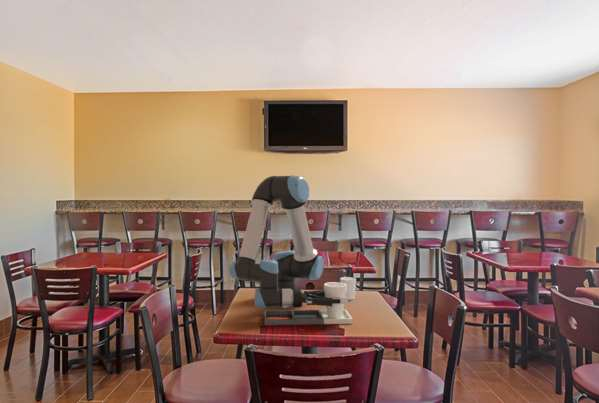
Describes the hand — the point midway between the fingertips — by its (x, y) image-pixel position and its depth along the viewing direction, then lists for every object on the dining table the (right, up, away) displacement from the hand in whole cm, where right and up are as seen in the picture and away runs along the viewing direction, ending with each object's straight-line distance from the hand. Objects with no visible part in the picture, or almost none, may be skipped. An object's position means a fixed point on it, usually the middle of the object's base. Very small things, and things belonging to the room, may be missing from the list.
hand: (345, 297), depth 167 cm
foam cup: (-5, -8, 0) cm, 9 cm away
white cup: (+5, -9, +33) cm, 35 cm away
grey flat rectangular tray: (-16, -9, -1) cm, 18 cm away
